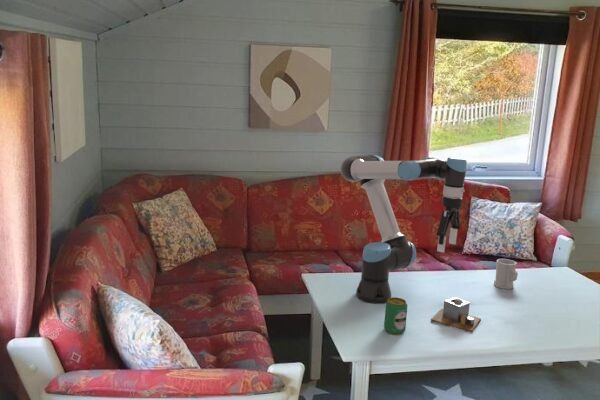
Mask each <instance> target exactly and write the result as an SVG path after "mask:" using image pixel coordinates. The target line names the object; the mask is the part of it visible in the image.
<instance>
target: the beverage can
mask: <svg viewBox="0 0 600 400" xmlns="http://www.w3.org/2000/svg"><path fill="white" fill-rule="evenodd" d="M407 313H408V303H407V301H406V300H405V299H404V298H400V297H391V298H389V299H388V301H387V302H385V311H384V322H383V323H384V324H383V329H384V331H385V332H386V333H387V334H390V335H393V336H401V335H403V334H404V333H405V332H406V328H407Z"/></svg>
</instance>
